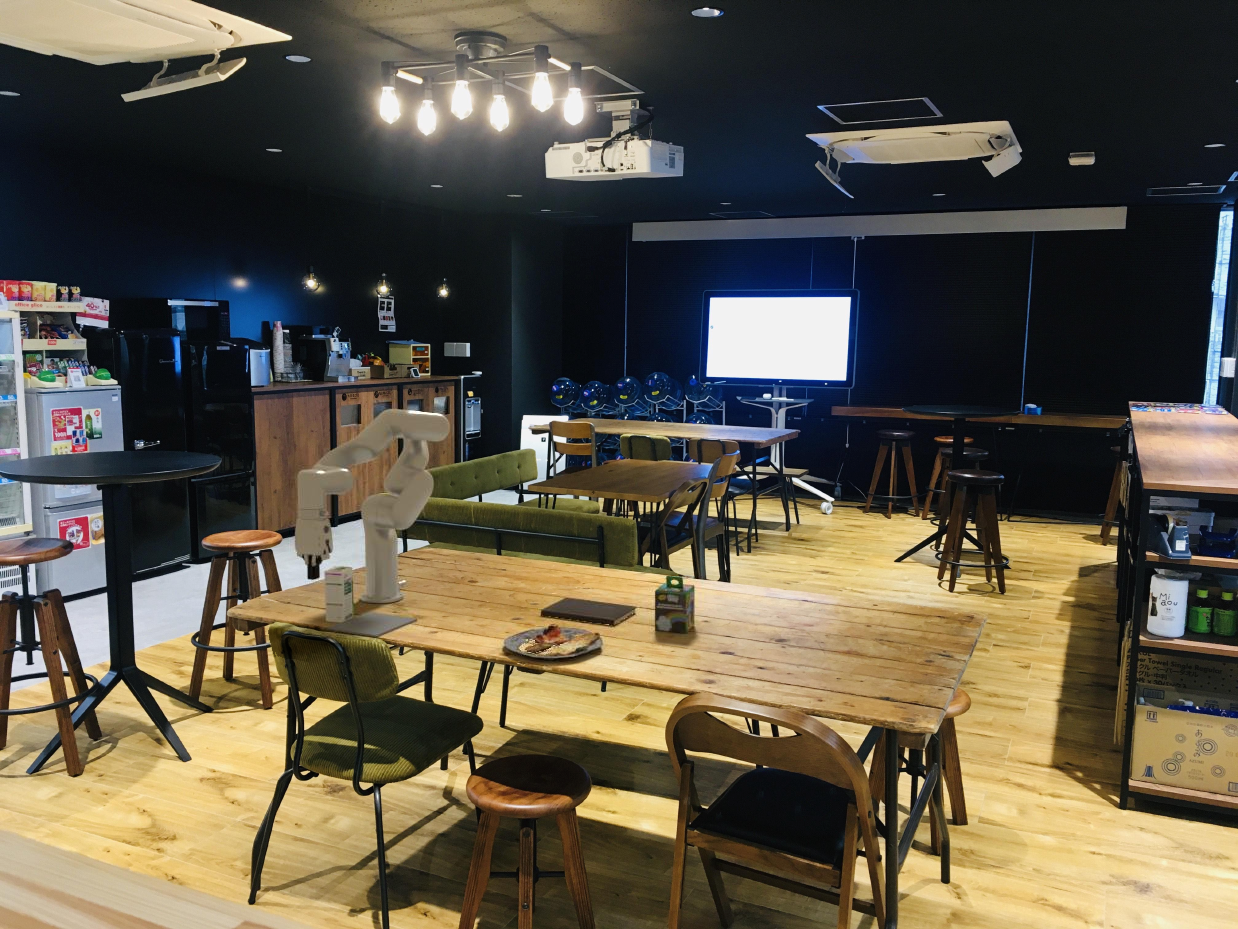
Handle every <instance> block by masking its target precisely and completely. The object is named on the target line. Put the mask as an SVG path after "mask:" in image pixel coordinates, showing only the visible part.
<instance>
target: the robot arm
mask: <svg viewBox="0 0 1238 929" xmlns="http://www.w3.org/2000/svg"><path fill="white" fill-rule="evenodd" d="M450 429H451V425H450V421H449V419H448V417H446V416H445V415H443V414H441V413H434V412H433V413H432V412H424V411H416V410H410V409H409V410H408V409H397V408H388V409H385V410H383V411H382V412H380V413H379V414H378V415H377V416H376V417H375V418H374V419H373V420H372V421H370V423H369V424H368V425H367V426H366V427H365V428H364V429H363V430H362V431H361V432H360V433H359V434H358V435H356V437H354V438H352V439H350V440H348V441H346V442H345V443H342V444H341V445H339V446H337V447H335V448H333V449H332V450H330V451H328V452H327V453H326V454H324V455H323V457H321V458H320V459H319V460H318V461H317V462H316V463H315V464H314V465H313V467H312V468H309V469H302V470H300V471H299V472H298V474H297V503H298V504H297V512H298V514H297V516H298V518H297V519H296V523H295V532H294V549H295V552H296V556H297V557H300V558H301V559H302V560H303V561H304V563H305V566H307V567H306V568H307V570H306V571H307V580H310V581H314V580H317V579H320V577H321V574H320V573H321V572H320V571H321V570H320V567H321V566H320V565H322V563H323V562H324V561H327V560H330V558H331V556H330V554H331V553H333V551H334V545H333V543H334V542H333V541H334V540H333V531H332V526H331V522H330V519H329V518H328V516H329V514H330V513H329V511H328V510H327V495H344V494H347V493H349V492H350V491H351V490H352V489H353V488H354V486H355V484H356V483H355V482H356V477H355V475H354V474H353V472H352V471H350V470H349V468H351V467H352V466H356V465H362V464H364V463H369V462H371V461H374V460H376V459H377V458H379V457H380V456H381V455H382V454H383V453H384V452H385V451H386V449H388V447H390V446H391V445H392V444H393V443H394V442H395V440H396V439H403V448H402V450H401V453H400V455H399V456H398V457H397V460H396V461H395V462H394V464H393V466H392V467H391V469H390V470H389V472H388V474H387V475H386V477H385V478H384V481H383V488H384V490H385V492H387V494H380V493H377V494H372V495H369V496H368V497H367V498H365V499H364V500H363V502H362V506H361V508H360V509H361V510H360V513H361V519H362V524H363V530H364V545H365V546H364V548H365V549H364V552H365V553H364V554H365V556H364V558H365V560H364V562H365V565H364V566H365V567H364V568H365V592H362V594H360V601H362V602H364V603H371V604H388V603H395V602H398V601H401V600H403V598H404V593H403V592H402V591H401V588H404V587H406V586H407V581H406V580H399V550H398V548H399V542H398V541H399V540H398V535H397V532H396V530H398V531H399V530H400V531H403V530H406V529H409V528H410V527H411V526H412V525H413V524H414V523H415V521H416V520H417V519H418V517H419V515H420V514H421V512H422V510H424V508H425V506H426V504H427V503H428V502H429V500H430V498H431V496H432V494H433V491H434V485H435V484H434V482H435V481H434V478H433V476H432V474H431V472H429V471H428V470H426V467H427V465H428V463H429V459H430V454H429V453H430V452H429V446H428V442H427V441H429V442H441V441H443V440H445V439H446V438H447V437H448V435H449V433H450V431H451V430H450Z"/></svg>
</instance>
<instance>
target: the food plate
mask: <svg viewBox="0 0 1238 929" xmlns="http://www.w3.org/2000/svg"><path fill="white" fill-rule="evenodd" d="M600 636H601V634H600V632H591V631H588V630H586V629H583V628H582V629H580V628H575V627H564V626H559V625H558V624H556V625H549V626H547V627H541V628H532V629H527V630H526V631H525V630H524V631H521V632H517V633H515V634H512V635H508V637H506V638H504V640H503V645H504V646H505V648H506V649H508V650H511V651H512V652H515V653H517V654H521V655H525V656H529V657H532V658H539V659H544V660H548V659H549V661H553V660H554V659H558V658H569V657H575V656H579V655H582V654H585V653H589V652H590V651H593V650H596V649H599V648H600V647H602V646H603V644H604V642H603V638H602V637H600ZM526 639H528V641H526ZM530 639H532V640H535V643H537V644H535V645H534V644H533V646H532V645H527V646H528V647H527V646H526V647H525V648H524V651H523V650H522V649H521V650H522V651H521V650H520V649H519V647H520V646H521V645H522V644H524V643H525V644H527V642H528V643H529V641H532V640H530ZM560 644H562V645H560ZM553 645H555V646H553ZM552 646H553V647H554V648H553V649H551V650H548V651H544V650H546V649H549V648H551V647H552ZM525 650H527V652H531V653H536V652H539V651H544V652H540V653H536V654H537V655H536V654H528V653H526V651H525Z"/></svg>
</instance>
